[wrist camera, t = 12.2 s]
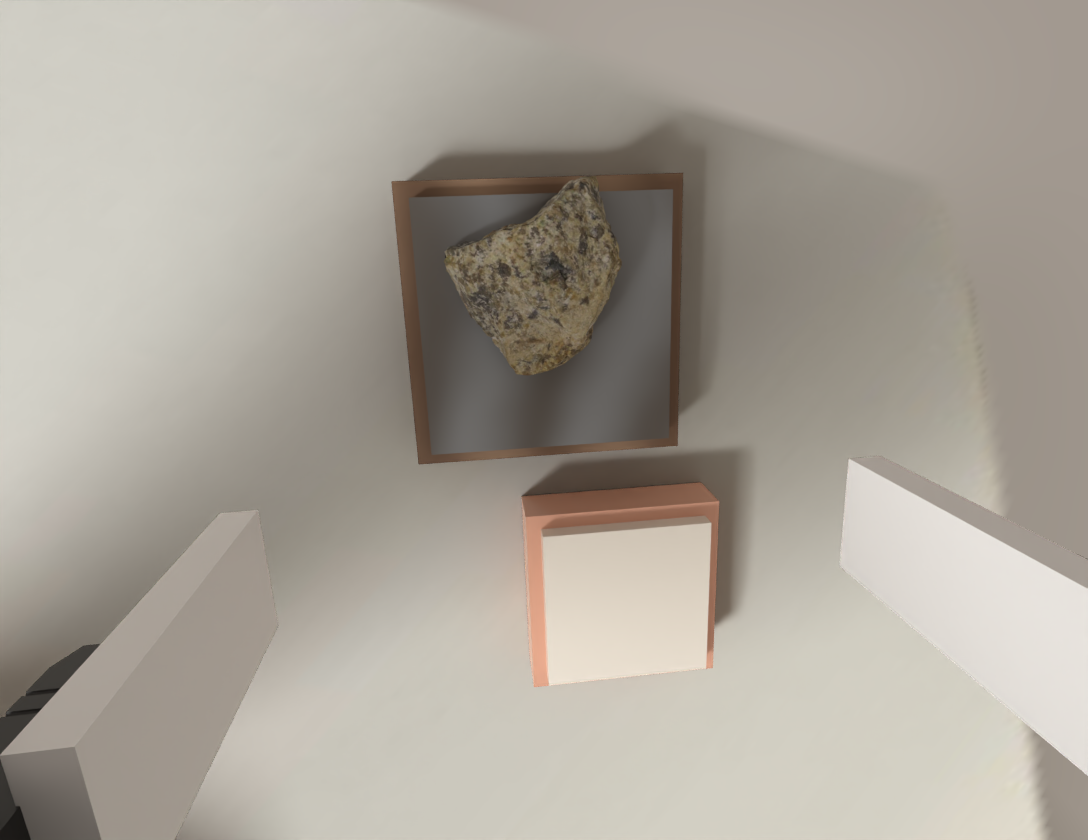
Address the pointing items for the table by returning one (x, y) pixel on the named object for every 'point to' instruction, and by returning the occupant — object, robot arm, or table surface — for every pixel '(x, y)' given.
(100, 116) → the table surface
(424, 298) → the walnut plinth
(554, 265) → the rock
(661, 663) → the terracotta plinth
